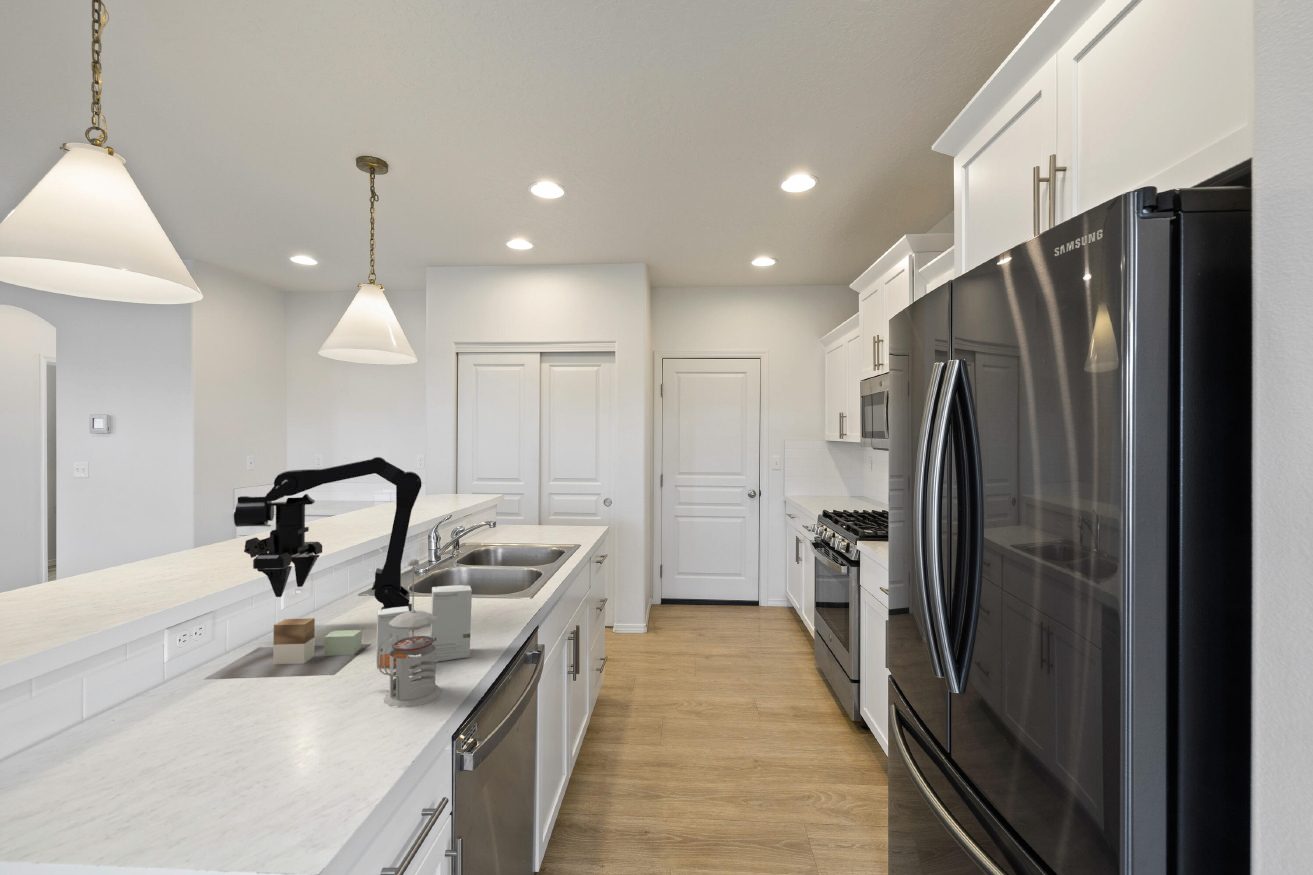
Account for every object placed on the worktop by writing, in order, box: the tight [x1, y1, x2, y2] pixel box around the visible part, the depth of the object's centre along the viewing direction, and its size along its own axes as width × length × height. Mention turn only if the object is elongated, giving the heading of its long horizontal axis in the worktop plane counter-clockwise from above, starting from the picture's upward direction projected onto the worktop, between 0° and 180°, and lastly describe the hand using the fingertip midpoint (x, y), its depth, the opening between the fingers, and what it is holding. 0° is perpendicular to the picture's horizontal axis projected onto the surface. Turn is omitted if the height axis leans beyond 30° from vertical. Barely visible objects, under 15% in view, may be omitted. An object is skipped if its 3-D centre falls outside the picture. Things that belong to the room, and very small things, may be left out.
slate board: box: [204, 643, 372, 680], centre depth 117 cm, size 24×17×1 cm
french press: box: [376, 558, 442, 708], centre depth 102 cm, size 10×12×25 cm
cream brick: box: [272, 637, 315, 664], centre depth 117 cm, size 6×4×4 cm, turn 95°
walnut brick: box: [273, 617, 316, 645], centre depth 117 cm, size 6×4×4 cm, turn 95°
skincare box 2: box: [430, 584, 473, 663], centre depth 122 cm, size 8×6×15 cm
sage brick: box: [323, 629, 363, 656], centre depth 121 cm, size 6×4×4 cm, turn 95°
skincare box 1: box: [376, 606, 410, 669], centre depth 115 cm, size 6×4×12 cm
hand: (289, 591), depth 130 cm, fingers open, 9 cm apart
